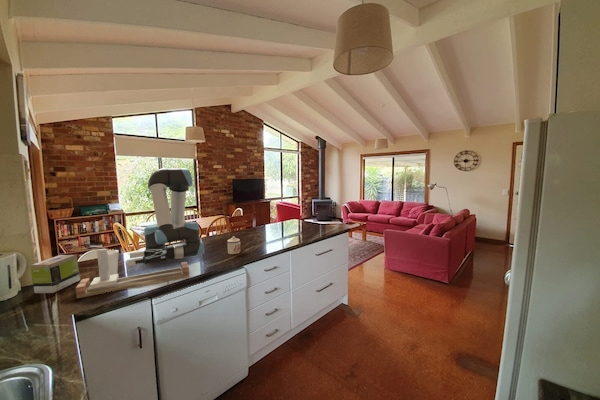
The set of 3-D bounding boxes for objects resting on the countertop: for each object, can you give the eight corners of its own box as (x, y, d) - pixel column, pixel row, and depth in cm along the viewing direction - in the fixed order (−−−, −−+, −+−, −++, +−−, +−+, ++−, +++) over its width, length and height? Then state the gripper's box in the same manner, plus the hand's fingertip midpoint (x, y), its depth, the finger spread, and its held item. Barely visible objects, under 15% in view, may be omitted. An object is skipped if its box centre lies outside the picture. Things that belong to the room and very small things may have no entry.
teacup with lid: (235, 255, 177) (234, 238, 176) (224, 253, 180) (224, 237, 179) (245, 250, 188) (244, 234, 187) (235, 249, 191) (234, 233, 190)
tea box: (62, 280, 138) (59, 254, 137) (80, 280, 138) (77, 254, 137) (33, 293, 123) (29, 264, 122) (53, 293, 123) (49, 264, 122)
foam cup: (118, 270, 153) (116, 248, 151) (122, 274, 146) (120, 252, 145) (99, 274, 146) (96, 252, 145) (101, 279, 139) (99, 256, 138)
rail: (83, 288, 128) (82, 278, 127) (187, 269, 151) (186, 261, 150) (76, 298, 117) (75, 288, 117) (189, 276, 141) (188, 267, 140)
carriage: (94, 281, 129) (91, 248, 127) (118, 277, 134) (115, 245, 132) (90, 289, 120) (86, 254, 119) (116, 284, 125) (112, 250, 123)
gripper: (176, 265, 131) (127, 273, 120) (173, 253, 152) (131, 259, 142) (175, 250, 130) (125, 258, 120) (172, 240, 152) (130, 246, 141)
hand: (128, 259), depth 131 cm, fingers open, 13 cm apart
